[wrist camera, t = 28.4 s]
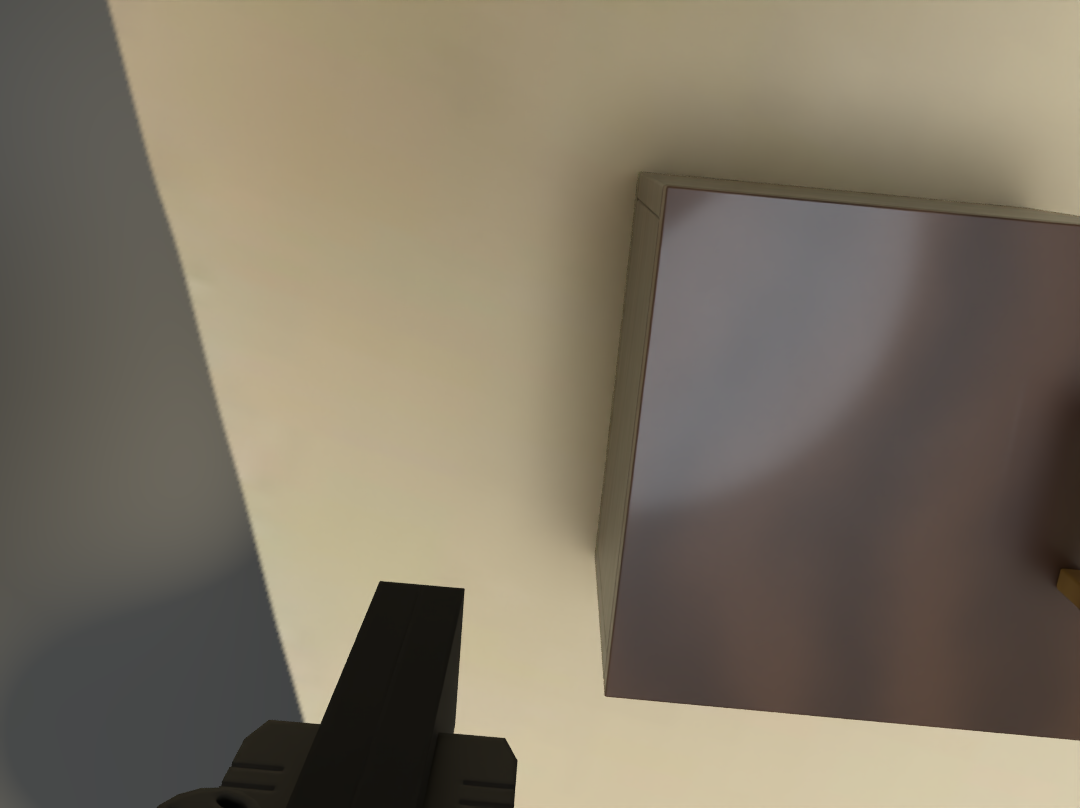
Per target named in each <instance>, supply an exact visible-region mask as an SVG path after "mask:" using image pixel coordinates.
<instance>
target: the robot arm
mask: <svg viewBox="0 0 1080 808" xmlns="http://www.w3.org/2000/svg"><path fill="white" fill-rule="evenodd" d="M463 604H464V589H463V588H452V587H440V586H429V585H418V584H406V583H395V582H384V581H380V582H379V584H378V587H377V589H376V592H375V594H374V596H373V599H372V601H371V604H370V606H369V609H368V611H367V613H366V616H365V618H364V621H363V623H362V625H361V628H360V630H359V633H358V635H357V637H356V640H355V642H354V645H353V647H352V649H351V652H350V654H349V657H348V659H347V662H346V664H345V666H344V669H343V671H342V674H341V676H340V678H339V681H338V683H337V686H336V688H335V690H334V693H333V695H332V698H331V700H330V702H329V705H328V707H327V710H326V712H325V714H324V717H323V719H322V722H321V724H311V723H300V722H288V721H276V720H268V721H267V722H266V723H264V724H263V725H262V726H261V727H259V728H258V729H257V730H255V731H254V732H253V733H252V734H250V735H249V736H248V737H246V738H245V739H244V741H243V743H242V745H241V747H240V749H239V750H238V752H237V754H236V756H235V758H234V760H233V762H232V767H229V770H228V771H227V773H226V775H225V777H224V779H223V781H222V785H221V786H219V788H200V789H196V790H193V791H189V792H186V793H182V794H178V795H176V796H175V797H173V798H171V799H169V800H167V801H166V802H164V803H162V804H160V805H159V806H158V807H157V808H514V798H515V785H516V772H517V759H516V757H515V755H514V754H513V752H512V750H511V748H510V746H509V744H508V743H507V741H506V739H505V738H497V737H486V736H474V735H463V734H453V733H454V727H455V718H456V704H457V689H458V675H459V661H460V646H461V632H462V618H463Z"/></svg>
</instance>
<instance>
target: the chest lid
mask: <svg viewBox="0 0 1080 808" xmlns="http://www.w3.org/2000/svg"><path fill="white" fill-rule="evenodd" d="M604 694H605V696H606V697H616V698H627V699H637V700H648V701H659V702H670V703H681V704H691V705H702V706H713V707H724V708H735V709H745V710H756V711H767V712H778V713H789V714H799V715H810V716H821V717H832V718H843V719H853V720H864V721H875V722H886V723H897V724H908V725H918V726H929V727H940V728H951V729H962V730H972V731H983V732H994V733H1005V734H1016V735H1026V736H1037V737H1048V738H1059V739H1070V740H1080V223H1070V222H1059V221H1048V220H1038V219H1027V218H1017V217H1006V216H995V215H985V214H974V213H963V212H953V211H942V210H932V209H921V208H910V207H900V206H889V205H878V204H868V203H857V202H847V201H836V200H825V199H815V198H804V197H793V196H783V195H772V194H762V193H751V192H740V191H730V190H719V189H708V188H698V187H687V186H677V185H664V187H663V195H662V203H661V212H660V220H659V228H658V236H657V245H656V253H655V261H654V270H653V278H652V286H651V294H650V303H649V311H648V319H647V328H646V336H645V344H644V352H643V361H642V369H641V377H640V385H639V394H638V402H637V410H636V419H635V427H634V435H633V443H632V452H631V460H630V468H629V477H628V485H627V493H626V501H625V510H624V518H623V526H622V534H621V543H620V551H619V559H618V568H617V576H616V584H615V592H614V601H613V609H612V617H611V626H610V634H609V642H608V650H607V659H606V667H605V675H604Z"/></svg>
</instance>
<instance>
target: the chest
mask: <svg viewBox="0 0 1080 808" xmlns="http://www.w3.org/2000/svg"><path fill="white" fill-rule="evenodd" d="M664 185H677V186H687V187H698V188H708V189H719V190H730V191H740V192H751V193H762V194H772V195H783V196H793V197H804V198H815V199H825V200H836V201H847V202H857V203H868V204H878V205H889V206H900V207H910V208H921V209H932V210H942V211H953V212H963V213H974V214H985V215H995V216H1006V217H1017V218H1027V219H1038V220H1048V221H1059V222H1070V223H1080V216H1075V215H1068V214H1062V213H1056V212H1050V211H1044V210H1037V209H1031V208H1022V207H1012V206H1001V205H991V204H980V203H969V202H959V201H948V200H938V199H927V198H916V197H906V196H895V195H884V194H874V193H863V192H853V191H842V190H831V189H821V188H810V187H800V186H789V185H778V184H768V183H757V182H746V181H736V180H725V179H715V178H704V177H693V176H683V175H672V174H662V173H651V172H639V174H638V181H637V190H636V199H635V208H634V217H633V225H632V234H631V243H630V252H629V260H628V269H627V278H626V287H625V296H624V304H623V313H622V322H621V331H620V339H619V348H618V357H617V366H616V375H615V383H614V392H613V401H612V410H611V418H610V427H609V436H608V445H607V454H606V462H605V471H604V480H603V489H602V497H601V506H600V515H599V524H598V533H597V541H596V550H595V564H596V580H597V594H598V609H599V623H600V637H601V651H602V665H603V679H604V675H605V667H606V659H607V650H608V642H609V634H610V626H611V617H612V609H613V601H614V592H615V584H616V576H617V568H618V559H619V551H620V543H621V534H622V526H623V518H624V510H625V501H626V493H627V485H628V477H629V468H630V460H631V452H632V443H633V435H634V427H635V419H636V410H637V402H638V394H639V385H640V377H641V369H642V361H643V352H644V344H645V336H646V328H647V319H648V311H649V303H650V294H651V286H652V278H653V270H654V261H655V253H656V245H657V236H658V228H659V220H660V212H661V203H662V195H663V187H664Z"/></svg>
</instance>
